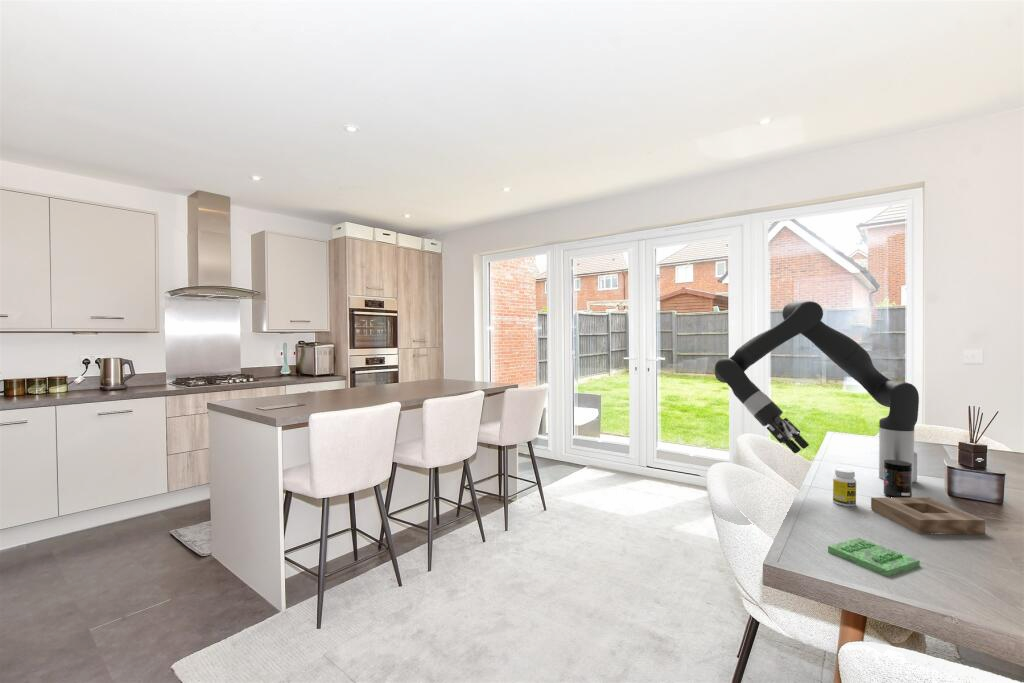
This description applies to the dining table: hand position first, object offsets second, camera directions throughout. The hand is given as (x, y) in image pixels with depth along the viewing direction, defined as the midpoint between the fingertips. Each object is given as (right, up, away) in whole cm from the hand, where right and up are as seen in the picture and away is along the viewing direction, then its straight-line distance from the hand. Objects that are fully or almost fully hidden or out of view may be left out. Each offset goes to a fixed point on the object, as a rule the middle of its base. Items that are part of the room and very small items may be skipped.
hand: (802, 449), depth 145 cm
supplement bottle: (+8, -14, -8) cm, 18 cm away
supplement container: (+28, -14, -2) cm, 31 cm away
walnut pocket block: (+19, -14, -21) cm, 32 cm away
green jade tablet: (-10, -16, -41) cm, 45 cm away
